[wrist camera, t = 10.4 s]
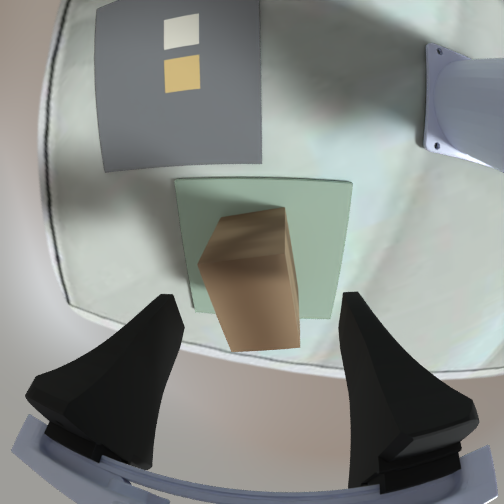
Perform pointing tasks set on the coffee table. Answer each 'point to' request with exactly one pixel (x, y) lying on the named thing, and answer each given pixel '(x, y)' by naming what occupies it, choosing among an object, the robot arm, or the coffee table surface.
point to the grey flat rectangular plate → (178, 83)
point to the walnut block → (253, 281)
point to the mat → (299, 223)
